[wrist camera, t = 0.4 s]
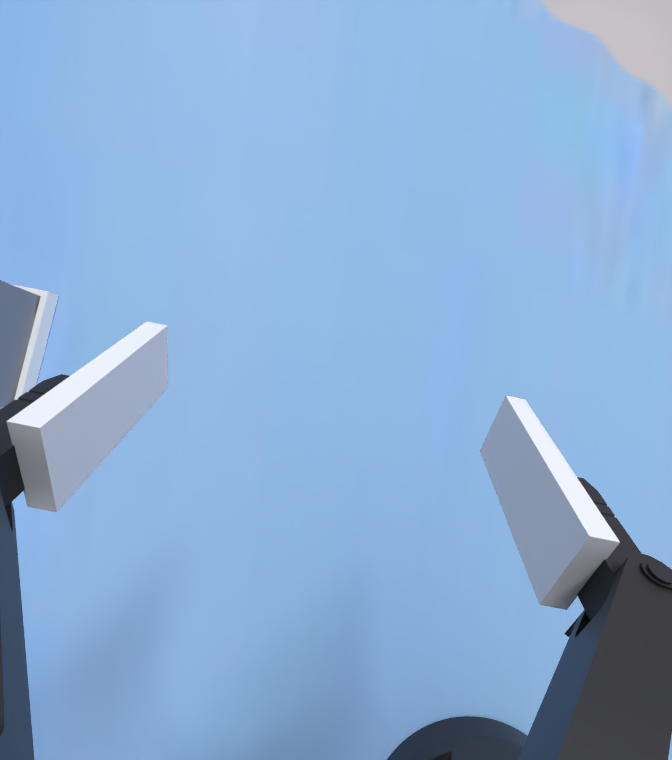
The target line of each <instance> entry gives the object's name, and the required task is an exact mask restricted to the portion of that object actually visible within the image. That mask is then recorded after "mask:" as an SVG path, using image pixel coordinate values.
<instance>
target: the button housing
mask: <svg viewBox="0 0 672 760" xmlns="http://www.w3.org/2000/svg"><path fill="white" fill-rule="evenodd" d="M40 297H41V296H39V295H36V294H34V293H31V292H29V291H26V290H24V289H21V288H18V287H16V286H13V285H11V284H8V283H6V282H3V281H1V280H0V407H5V406H6V405H8V404H9V403H11V402H12V401H14V399H15V395H16V391H17V387H18V383H19V379H20V375H21V371H22V367H23V364H24V360H25V356H26V352H27V348H28V344H29V340H30V336H31V332H32V329H33V325H34V321H35V317H36V313H37V309H38V305H39V301H40Z"/></svg>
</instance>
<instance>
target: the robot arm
mask: <svg viewBox="0 0 672 760" xmlns="http://www.w3.org/2000/svg"><path fill="white" fill-rule="evenodd" d="M167 389H168V353H167V326H166V325H162V324H157V323H152V322H145V323H144V324H143V325H141V326H140V327H138V328H137V329H136V330H134V331H133V332H131V333H130V334H129V335H127V336H126V337H124V338H123V339H122V340H120V341H119V342H117V343H116V344H115V345H113V346H112V347H110V348H109V349H108V350H106V351H105V352H103V353H102V354H100V355H99V356H98V357H96V358H95V359H93V360H92V361H91V362H89V363H88V364H86V365H85V366H84V367H82V368H81V369H79V370H78V371H77V372H75V373H74V374H72V375H71V376H67V375H62V374H61V375H58V376H56V377H53V378H50V379H47V380H44V381H42V382H41V383H39V384H38V385H36V386H35V387H33V388H32V389H30V390H29V392H26V393H24V394H23V395H21V396H20V397H18V400H14V401H12V402H11V403H9V404H8V405H6V406H5V407H3V408H2V409H0V760H34V750H33V738H32V726H31V713H30V701H29V689H28V676H27V664H26V652H25V639H24V627H23V615H22V602H21V590H20V578H19V565H18V553H17V541H16V528H15V516H14V508H13V505H12V501H13V500H14V499H15V498H16V497H17V496H18V495H19V494H20V493H21V492H22V491H23V490H24V494H25V498H26V502H27V506H28V507H32V508H38V509H43V510H48V511H53V512H58V510H59V509H60V508H61V507H62V506H63V505H64V504H65V503H66V502H67V500H68V499H69V498H70V497H71V496H72V495H73V494H74V493H75V491H76V490H77V489H78V488H79V487H80V486H81V485H82V484H83V482H84V481H85V480H86V479H87V478H88V477H89V476H90V475H91V474H92V472H93V471H94V470H95V469H96V468H97V467H98V466H99V465H100V463H101V462H102V461H103V460H104V459H105V458H106V457H107V456H108V455H109V453H110V452H111V451H112V450H113V449H114V448H115V447H116V446H117V444H118V443H119V442H120V441H121V440H122V439H123V438H124V437H125V436H126V434H127V433H128V432H129V431H130V430H131V429H132V428H133V427H134V425H135V424H136V423H137V422H138V421H139V420H140V419H141V418H142V416H143V415H144V414H145V413H146V412H147V411H148V410H149V409H150V408H151V406H152V405H153V404H154V403H155V402H156V401H157V400H158V399H159V397H160V396H161V395H162V394H163V393H164V392H165V391H166V390H167ZM480 453H481V455H482V458H483V461H484V463H485V466H486V468H487V471H488V473H489V476H490V478H491V481H492V484H493V486H494V489H495V491H496V494H497V496H498V499H499V502H500V504H501V507H502V509H503V512H504V514H505V517H506V520H507V522H508V525H509V527H510V530H511V532H512V535H513V538H514V540H515V543H516V545H517V548H518V550H519V553H520V555H521V558H522V561H523V563H524V566H525V568H526V571H527V573H528V576H529V579H530V581H531V584H532V586H533V589H534V591H535V594H536V597H537V599H538V602H539V604H540V605H545V606H550V607H556V608H561V609H566V610H567V609H568V607H569V606H570V605H571V604H572V602H573V601H574V600H575V598H576V597H577V596H578V597H579V599H580V601H581V603H582V605H583V607H584V609H585V610H584V611H583V612H582V613H581V615H580V616H579V617H578V618H577V619H576V621H575V622H574V623H573V624H572V625H571V627H570V628H569V629H568V630H567V631H566V633H565V634H566V635H567V636H568V637H569V636H570V638H569V640H568V642H567V645H566V647H565V649H564V652H563V654H562V656H561V659H560V661H559V663H558V666H557V668H556V671H555V673H554V675H553V678H552V680H551V682H550V685H549V687H548V689H547V692H546V694H545V697H544V699H543V701H542V704H541V706H540V708H539V711H538V713H537V715H536V718H535V720H534V722H533V725H532V727H531V730H530V732H529V734H528V736H527V735H525V734H524V733H522V732H520V731H519V730H517V729H515V728H513V727H511V726H509V725H507V724H505V723H502V722H499V721H496V720H492V719H488V718H482V717H455V718H449V719H445V720H441V721H438V722H435V723H433V724H430V725H428V726H426V727H424V728H422V729H421V730H419V731H417V732H416V733H414V734H413V735H412V736H410V737H409V738H408V739H407V740H406V741H404V742H403V743H402V744H401V745H400V746H399V747H398V748H397V750H396V751H395V752H394V753H393V754H392V756H391V757H390V758H389V760H668V755H669V748H670V740H671V732H672V570H671V569H670V568H669V567H667V566H666V565H665V564H663V563H662V562H660V561H658V560H656V559H654V558H652V557H650V556H648V555H644V554H641V552H640V551H639V549H638V548H637V546H636V545H635V544H634V542H633V541H632V539H631V538H630V536H629V535H628V534H627V532H626V531H625V529H624V528H623V527H622V525H621V524H620V522H619V521H618V519H617V518H614V514H613V512H612V511H611V509H610V508H609V507H607V504H606V502H605V501H604V499H603V498H602V497H601V495H600V494H599V492H598V491H597V490H596V489H595V488H594V487H592V486H591V485H590V484H589V483H588V482H587V481H586V480H585V479H584V478H579V477H576V475H575V474H574V472H573V471H572V469H571V468H570V466H569V465H568V463H567V462H566V460H565V459H564V457H563V456H562V454H561V453H560V451H559V450H558V448H557V447H556V445H555V444H554V442H553V441H552V439H551V438H550V436H549V435H548V433H547V432H546V430H545V429H544V427H543V426H542V424H541V423H540V421H539V420H538V418H537V417H536V415H535V414H534V412H533V411H532V409H531V408H530V406H529V405H528V403H527V402H526V400H524V399H520V398H515V397H510V396H505V398H504V400H503V403H502V405H501V407H500V409H499V411H498V413H497V415H496V418H495V420H494V422H493V424H492V426H491V428H490V430H489V433H488V435H487V437H486V439H485V441H484V443H483V445H482V448H481V450H480Z"/></svg>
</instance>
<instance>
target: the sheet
mask: <svg viewBox="0 0 672 760" xmlns="http://www.w3.org/2000/svg"><path fill="white" fill-rule="evenodd" d="M11 285H12V284H11ZM13 286H16V287H18V288H21V289H24V290H26V291H29V292H31V293H34V294H36V295H39V296H41V297H40V301H39V305H38V309H37V313H36V317H35V321H34V325H33V329H32V332H31V336H30V340H29V344H28V348H27V352H26V356H25V360H24V364H23V367H22V371H21V375H20V379H19V383H18V387H17V391H16V395H15V399H14V400H18V397H20V396H21V395H23V394H24V393H26V392H29V390H30V389H32V388H33V387H35V386H36V384H37V380H38V376H39V372H40V368H41V364H42V360H43V356H44V352H45V348H46V344H47V340H48V336H49V332H50V329H51V325H52V321H53V317H54V313H55V309H56V305H57V301H58V297H59V296H58V295H56V294H53V293H51V292H49V291H43V290H38V289H33V288H28V287H22V286H17V285H13ZM2 408H3V407H0V409H2Z"/></svg>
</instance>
